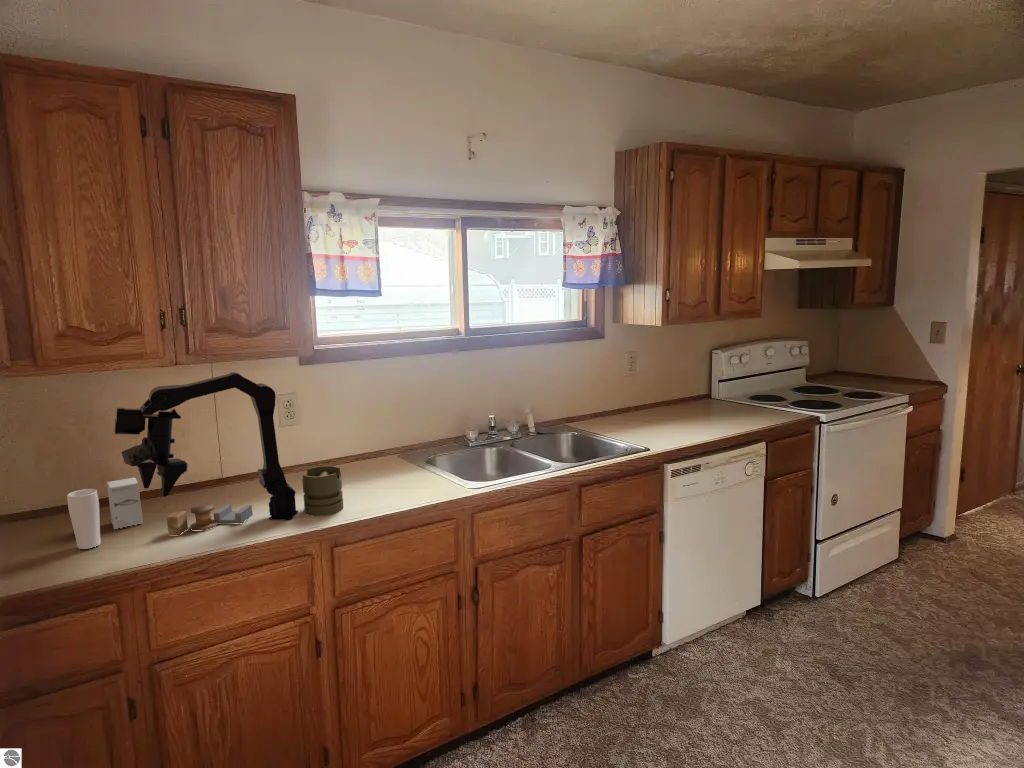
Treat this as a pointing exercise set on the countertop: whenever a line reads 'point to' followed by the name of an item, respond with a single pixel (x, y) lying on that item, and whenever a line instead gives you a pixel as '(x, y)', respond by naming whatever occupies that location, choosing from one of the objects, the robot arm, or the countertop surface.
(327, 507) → the grooved olive planter pot
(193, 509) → the spool
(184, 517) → the wooden block
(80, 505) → the drinking glass
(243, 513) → the grey u-shaped channel block
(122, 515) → the supplement box
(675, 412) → the countertop surface
